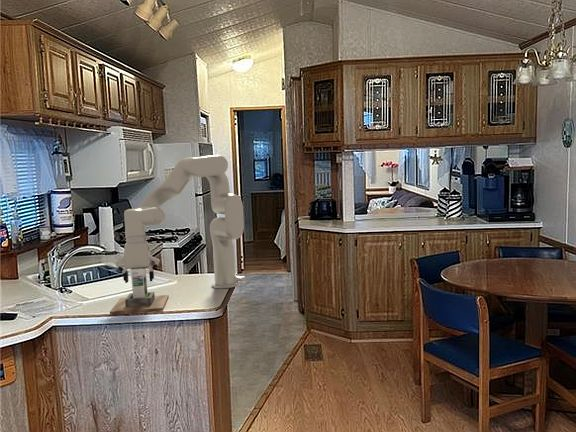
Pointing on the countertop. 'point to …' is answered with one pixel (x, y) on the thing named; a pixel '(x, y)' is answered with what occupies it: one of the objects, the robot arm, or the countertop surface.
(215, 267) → the robot arm
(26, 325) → the countertop surface
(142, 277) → the syrup box
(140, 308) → the socket stand
